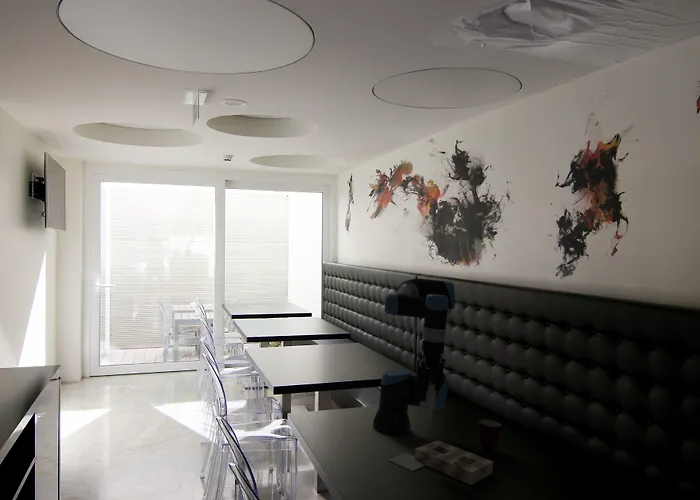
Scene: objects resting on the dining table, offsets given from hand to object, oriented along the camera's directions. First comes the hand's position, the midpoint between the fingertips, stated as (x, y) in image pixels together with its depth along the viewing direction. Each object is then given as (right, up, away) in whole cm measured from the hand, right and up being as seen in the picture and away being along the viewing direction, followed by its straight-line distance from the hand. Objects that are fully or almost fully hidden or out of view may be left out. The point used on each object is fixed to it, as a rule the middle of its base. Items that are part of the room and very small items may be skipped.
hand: (427, 409), depth 169 cm
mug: (+26, -22, +19) cm, 38 cm away
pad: (-6, -18, +1) cm, 19 cm away
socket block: (+9, -20, +1) cm, 22 cm away
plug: (0, -6, 0) cm, 5 cm away
